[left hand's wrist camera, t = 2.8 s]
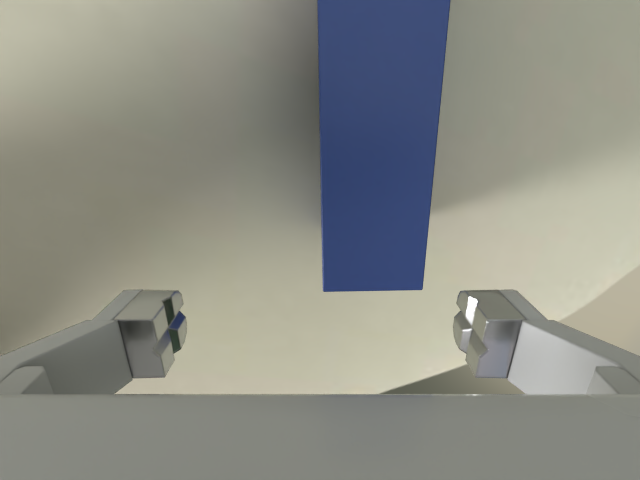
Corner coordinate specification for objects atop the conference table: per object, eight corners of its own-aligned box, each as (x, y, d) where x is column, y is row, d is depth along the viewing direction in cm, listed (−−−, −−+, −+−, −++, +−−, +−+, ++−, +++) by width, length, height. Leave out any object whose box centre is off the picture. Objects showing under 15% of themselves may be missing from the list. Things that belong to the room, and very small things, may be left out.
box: (386, 227, 32) (422, 290, 21) (321, 228, 32) (323, 292, 21) (403, -90, 24) (476, -263, 13) (315, -88, 24) (313, -259, 13)
